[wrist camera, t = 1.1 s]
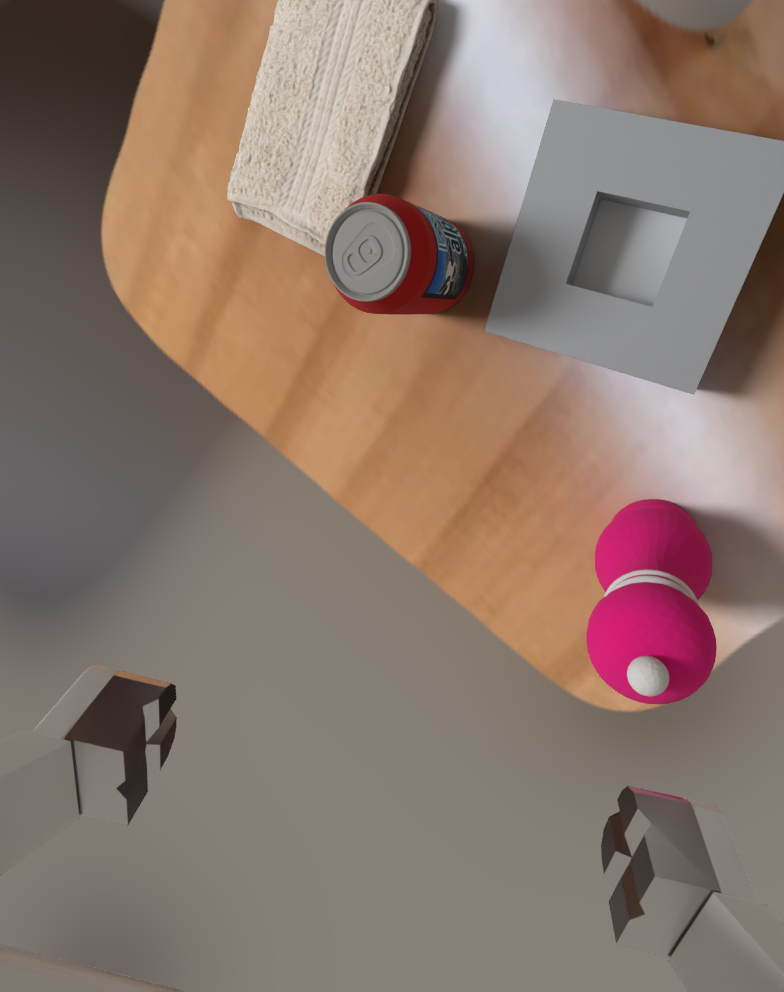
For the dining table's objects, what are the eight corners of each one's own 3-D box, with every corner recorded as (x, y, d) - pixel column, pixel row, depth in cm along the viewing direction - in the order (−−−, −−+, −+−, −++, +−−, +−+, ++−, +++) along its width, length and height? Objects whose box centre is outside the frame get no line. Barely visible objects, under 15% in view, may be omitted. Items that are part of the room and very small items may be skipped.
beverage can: (494, 279, 44) (442, 267, 34) (420, 332, 47) (351, 336, 37) (446, 197, 44) (379, 160, 33) (376, 256, 47) (293, 238, 37)
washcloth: (238, 214, 51) (214, 208, 49) (302, -42, 44) (278, -65, 41) (356, 269, 49) (338, 267, 46) (446, 6, 41) (430, -16, 39)
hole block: (561, 116, 40) (553, 99, 37) (792, 159, 36) (805, 144, 33) (496, 329, 45) (484, 331, 42) (691, 388, 41) (693, 394, 38)
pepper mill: (731, 544, 43) (782, 705, 25) (650, 604, 46) (644, 784, 28) (654, 471, 43) (650, 578, 26) (579, 535, 47) (530, 670, 29)
